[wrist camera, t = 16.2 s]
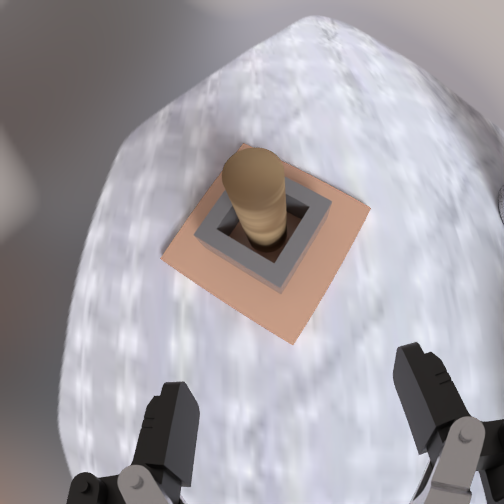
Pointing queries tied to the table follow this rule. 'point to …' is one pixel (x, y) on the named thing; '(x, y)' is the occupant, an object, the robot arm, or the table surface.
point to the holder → (272, 263)
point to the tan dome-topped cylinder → (258, 196)
